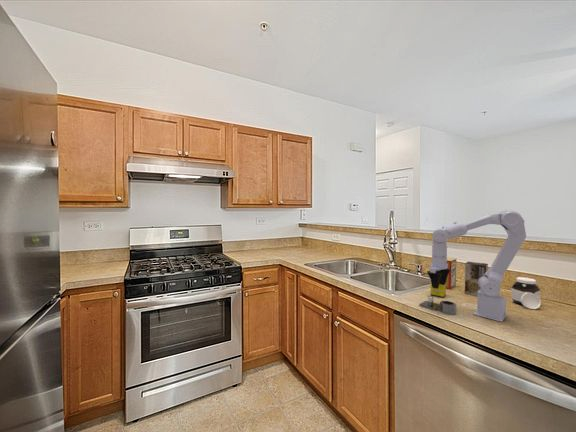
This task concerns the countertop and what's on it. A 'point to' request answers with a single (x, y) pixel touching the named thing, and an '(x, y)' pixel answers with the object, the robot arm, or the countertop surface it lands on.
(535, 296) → the spread jar
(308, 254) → the countertop surface
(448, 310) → the octagonal tube
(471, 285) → the coffee box
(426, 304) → the square base with peg
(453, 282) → the baking soda box
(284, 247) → the countertop surface
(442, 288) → the supplement box
